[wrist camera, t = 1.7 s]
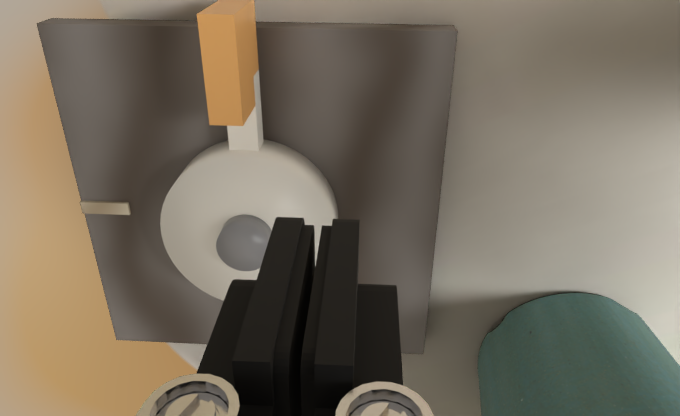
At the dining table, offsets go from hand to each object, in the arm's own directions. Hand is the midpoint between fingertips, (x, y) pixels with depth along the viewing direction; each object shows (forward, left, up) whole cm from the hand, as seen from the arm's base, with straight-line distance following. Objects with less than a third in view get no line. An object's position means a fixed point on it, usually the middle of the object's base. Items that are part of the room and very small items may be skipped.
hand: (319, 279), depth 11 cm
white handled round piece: (+6, +6, -20) cm, 22 cm away
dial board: (+6, +10, -22) cm, 24 cm away
